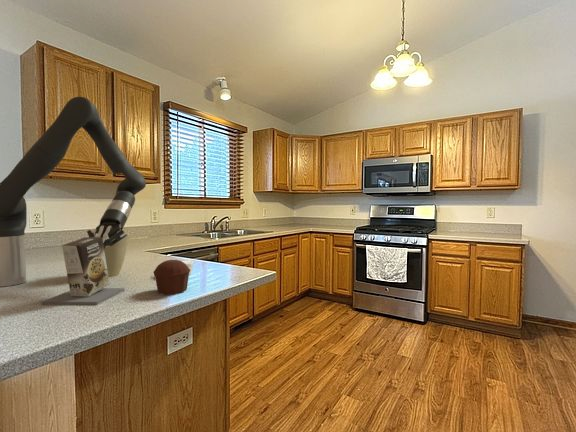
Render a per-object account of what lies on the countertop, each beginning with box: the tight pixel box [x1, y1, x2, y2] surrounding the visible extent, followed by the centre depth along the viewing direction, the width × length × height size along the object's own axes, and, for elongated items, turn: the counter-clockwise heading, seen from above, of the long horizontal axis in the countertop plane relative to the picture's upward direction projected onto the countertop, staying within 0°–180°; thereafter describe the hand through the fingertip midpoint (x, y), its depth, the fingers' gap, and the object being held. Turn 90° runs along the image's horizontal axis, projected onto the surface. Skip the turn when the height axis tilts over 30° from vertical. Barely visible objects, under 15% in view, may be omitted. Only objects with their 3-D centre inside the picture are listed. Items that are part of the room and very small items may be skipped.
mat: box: [40, 287, 125, 306], centre depth 94 cm, size 16×14×1 cm
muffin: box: [153, 259, 190, 296], centre depth 100 cm, size 12×11×10 cm
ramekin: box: [178, 259, 194, 276], centre depth 123 cm, size 11×11×5 cm
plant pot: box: [85, 233, 130, 278], centre depth 122 cm, size 15×15×16 cm
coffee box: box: [61, 236, 111, 297], centre depth 94 cm, size 9×6×16 cm
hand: (95, 254), depth 99 cm, fingers closed
